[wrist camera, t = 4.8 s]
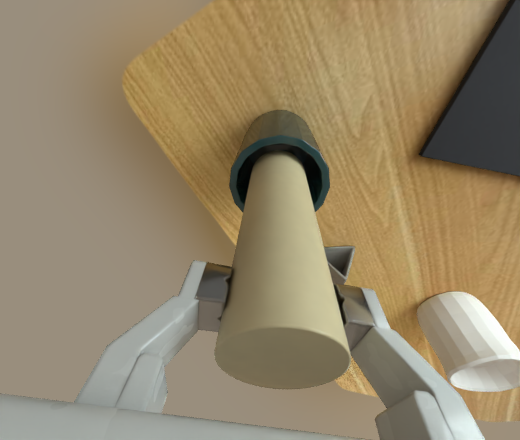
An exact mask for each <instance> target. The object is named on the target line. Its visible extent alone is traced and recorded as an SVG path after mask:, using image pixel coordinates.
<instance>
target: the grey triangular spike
mask: <svg viewBox="0 0 520 440" xmlns="http://www.w3.org/2000/svg"><path fill="white" fill-rule="evenodd" d="M324 250H325V254H326V258H327V262H328V266H329V270H330V274H331V278H332V282H333V284H334V283H335V284H342V285H344V283H345V282H346V280H347V277H348V274H349V270H350V267H351V263H352V259H353V256H354V252H355V247H354V246H344V247H324Z"/></svg>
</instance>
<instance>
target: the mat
mask: <svg viewBox="0 0 520 440" xmlns="http://www.w3.org/2000/svg"><path fill="white" fill-rule="evenodd" d="M419 155H420V156H422V157H427V158H432V159H437V160H442V161H447V162H452V163H457V164H462V165H467V166H472V167H477V168H481V169H486V170H491V171H496V172H501V173H506V174H511V175H516V176H520V0H509V2H508V4H507V6H506V7H505V9H504V11H503V12H502V14H501V16H500V17H499V19H498V21H497V22H496V24H495V26H494V28H493V29H492V31H491V33H490V34H489V36H488V38H487V39H486V41H485V43H484V44H483V46H482V48H481V50H480V51H479V53H478V55H477V56H476V58H475V60H474V61H473V63H472V65H471V66H470V68H469V70H468V72H467V73H466V75H465V77H464V78H463V80H462V82H461V83H460V85H459V87H458V88H457V90H456V92H455V94H454V95H453V97H452V99H451V100H450V102H449V104H448V105H447V107H446V109H445V110H444V112H443V114H442V116H441V117H440V119H439V121H438V122H437V124H436V126H435V127H434V129H433V131H432V132H431V134H430V136H429V138H428V139H427V141H426V143H425V144H424V146H423V148H422V149H421V151H420V153H419Z"/></svg>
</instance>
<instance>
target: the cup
mask: <svg viewBox="0 0 520 440" xmlns="http://www.w3.org/2000/svg"><path fill="white" fill-rule="evenodd" d="M417 319H418V322H419V325H420V327H421V329H422V331H423V333H424V335H425V337H426V339H427V340H428V342H429V343H430V345H431V346H432V348H433V350H434V351H435V353H436V355H437V356H438V358H439V360H440V362H441V364H442V366H443V368H444V371H445V373H446V375H447V378H448V381H449V382H450V383H452V384H453V385H454V386H456V387H458V388H461V389H465V390H470V391H482V392H496V391H504V390H509V389H513V388H516V387H519V386H520V351H519V349H518V348H517V347H516V346H515V345H514V343H513V342H512V341H511V340H510V339H509V337H508V336H507V334H506V333H505V331H504V330H503V328H502V327H501V325H500V324H499V323H498V321H497V320H496V319H495V318H494V316H493V315H492V314H491V313H490V312H489V310H488V309H487V308H486V307H485V306H484V305H483V304H482V303H481V302H480V301H479V300H478V299H477V298H475V297H474V296H472V295H470V294H468V293H465V292H460V291H453V292H446V293H442V294H438V295H436V296H433V297H431V298H429V299H427V300H426V301H424V302H423V303H421V305H420V306H419V307H418V310H417Z"/></svg>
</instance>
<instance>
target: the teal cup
mask: <svg viewBox="0 0 520 440" xmlns="http://www.w3.org/2000/svg"><path fill="white" fill-rule="evenodd" d="M276 150H281V151H286V152H289V153H291V154H293V155H295V156H296V157H297V158H298V159H299V160H300V161H301V163H302V165H303V167H304V171H305V174H306V178H307V182H308V186H309V190H310V194H311V198H312V202H313V206H314V210H315V212H316V211H317V210H318V209H319V208H320V207H321V206H322V205H323V203H324V201H325V198H326V196H327V193H328V191H329V188H330V179H329V168H328V166H327V164H326V162H325V159H324V157H323V155H322V153H321V151H320V149H319V147H318V145H317V143H316V140H315V138H314V136H313V134H312V132H311V130H310V129H309V127H308V125H307V123H306V122H305V121H304V120H303V119H302V118H301V117H299V116H298V115H296V114H294V113H292V112H289V111H285V110H274V111H270V112H267V113H264V114H262V115H261V116H259V117H258V118H257V119H256V120H255V121H254V122H253V123H252V124H251V125H250V127H249V129H248V131H247V132H246V134H245V136H244V139H243V141H242V144H241V146H240V148H239V151H238V153H237V156H236V158H235V160H234V163H233V165H232V168H231V174H230V183H229V187H230V190H231V193H232V196H233V199H234V202H235V204H236V205H237V206H238V207H239V208H240V210H241V211H242V212H243V211H244V206H245V201H246V197H247V192H248V187H249V182H250V177H251V172H252V168H253V166H254V164H255V162H256V161H257V160H258V159H259V158H260V157H261V156H262V155H264V154H266V153H268V152H271V151H276Z"/></svg>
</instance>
